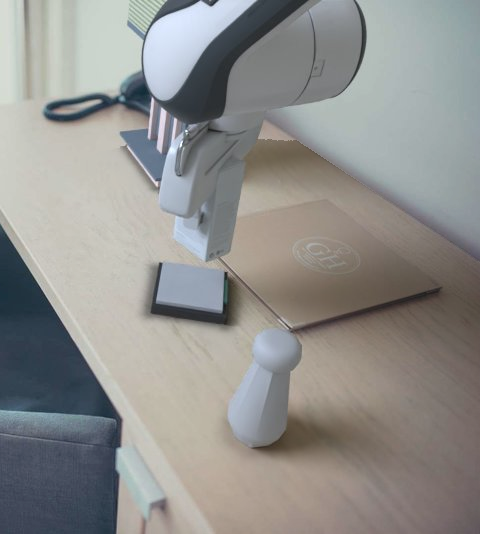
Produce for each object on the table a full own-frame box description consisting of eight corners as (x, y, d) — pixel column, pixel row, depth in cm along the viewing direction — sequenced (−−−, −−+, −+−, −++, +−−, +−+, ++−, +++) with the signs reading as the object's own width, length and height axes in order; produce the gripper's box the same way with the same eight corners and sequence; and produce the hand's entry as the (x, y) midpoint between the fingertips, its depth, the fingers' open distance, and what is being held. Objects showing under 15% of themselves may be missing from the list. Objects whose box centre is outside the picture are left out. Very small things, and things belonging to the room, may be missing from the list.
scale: (226, 278, 85) (228, 268, 83) (224, 324, 78) (226, 313, 76) (158, 269, 86) (159, 258, 85) (150, 313, 79) (151, 302, 78)
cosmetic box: (231, 253, 76) (251, 161, 68) (203, 265, 73) (220, 172, 66) (196, 227, 79) (211, 138, 72) (168, 238, 77) (181, 148, 70)
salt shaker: (291, 452, 63) (325, 360, 55) (235, 459, 62) (262, 367, 54) (267, 405, 68) (296, 314, 60) (216, 412, 67) (238, 320, 59)
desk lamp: (237, 183, 104) (281, -33, 84) (156, 195, 101) (182, -28, 80) (189, 134, 118) (218, -63, 98) (117, 142, 114) (131, -60, 94)
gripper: (213, 145, 57) (192, 267, 65) (284, 73, 71) (259, 182, 79) (150, 127, 59) (137, 247, 68) (230, 61, 73) (212, 168, 82)
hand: (204, 211), depth 74 cm, fingers closed on cosmetic box, 5 cm apart
